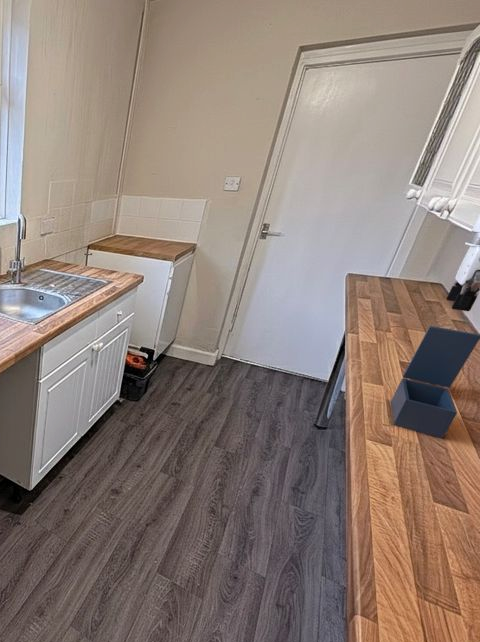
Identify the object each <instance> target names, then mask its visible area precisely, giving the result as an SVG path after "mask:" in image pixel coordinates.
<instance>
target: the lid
mask: <svg viewBox="0 0 480 642" xmlns="http://www.w3.org/2000/svg"><path fill="white" fill-rule="evenodd" d="M479 341H480V333H474V332H468V331H462V330H456V329H450V328H445V327H439V326H432V325H429V326H428V328H427V330H426V332H425V334H424V336H423V338H422V339H421V341H420V343H419V345H418V347H417V349H416V350H415V351H414V354H413V356H412V358H411V360H410V362H409V364H408V366H407V367H406V370H405V371H404V373H403V374H402V377H403V379H408V380H410V379H413V380H417V381H421V382H426V383H430V384H434V385H436V386H438V387H443V388H447V389H451V387H452V385H453V384H454V382H455V380H456V379H457V377H458V375H459V374H460V372H461V370H462V369H463V367H464V365H465V364H466V362H467V361H468V359H469V358H470V356H471V354H472V353H473V351H474V349H475V347H476V346H477V344H478V343H479Z"/></svg>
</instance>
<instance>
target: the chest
mask: <svg viewBox="0 0 480 642" xmlns="http://www.w3.org/2000/svg"><path fill="white" fill-rule="evenodd" d="M390 405H391V415H392V423H393V426H397V427H401V428H404V429H408V430H411V431H415V432H418V433H422V434H426V435H429V436H433V437H435V438H439V439H444V437H445V436H446V434H447V432H448V430H449V428H450V426H451V425H452V423H453V421H454V419H455V418H456V417H457V414H458V410H457V408H456V405H455V402H454V399H453V397H452V394H451V391H450V388H448V387H443V386H439V385H436V386H434V385H430V384H425V383H421V382H417V381H412V380H410V379H408V378H404V377H403V378H401V380H400V382H399V383H398V386H397V388H396V390H395V392H394V394H393V397H392V398H391V400H390Z"/></svg>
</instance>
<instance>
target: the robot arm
mask: <svg viewBox="0 0 480 642" xmlns="http://www.w3.org/2000/svg"><path fill="white" fill-rule="evenodd" d="M464 244H465V245H466V246H469V248H468V249H467V252H466V253H465V255H464V257H463V259H462V261H461V264H460V265H459V268H458V269H457V272H456V275H455V281H454V283H453V285H452V286H451V288H450V290H449V292H448V294H447V297H446V300H447V301H450V302H453V304H452V305H451V309H452V310H455V311H462V312H463V311H464V312H471V310H472V307H473V306H474V304H475V302H476V300H477V298H478V296H479V293H480V213H479V214H478V216H477V218H476V221H475V223H474V224H473V227H472V229H471V231H470V232H469V235H468V237H467V239H466V241H465V243H464Z"/></svg>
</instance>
